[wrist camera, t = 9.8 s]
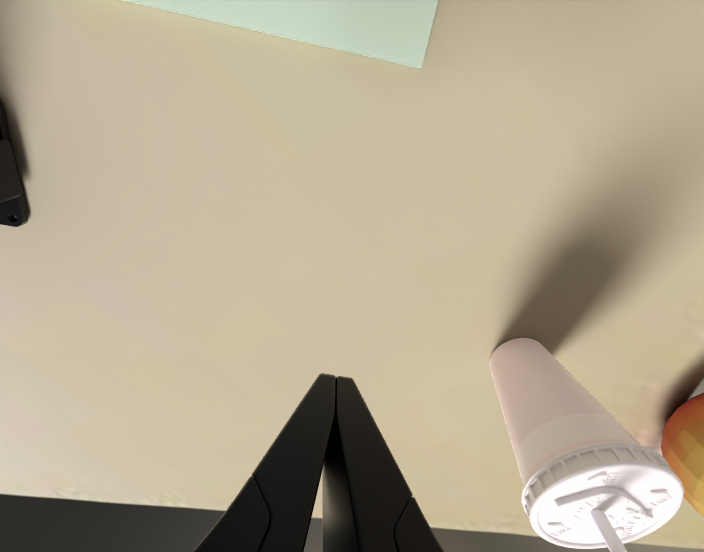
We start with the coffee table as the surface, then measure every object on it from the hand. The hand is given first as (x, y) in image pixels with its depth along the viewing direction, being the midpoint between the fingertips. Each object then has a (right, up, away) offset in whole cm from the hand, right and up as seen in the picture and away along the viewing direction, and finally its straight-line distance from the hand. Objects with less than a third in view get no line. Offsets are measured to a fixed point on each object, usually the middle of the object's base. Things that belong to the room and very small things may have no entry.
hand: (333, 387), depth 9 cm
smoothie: (+11, -3, +15) cm, 19 cm away
